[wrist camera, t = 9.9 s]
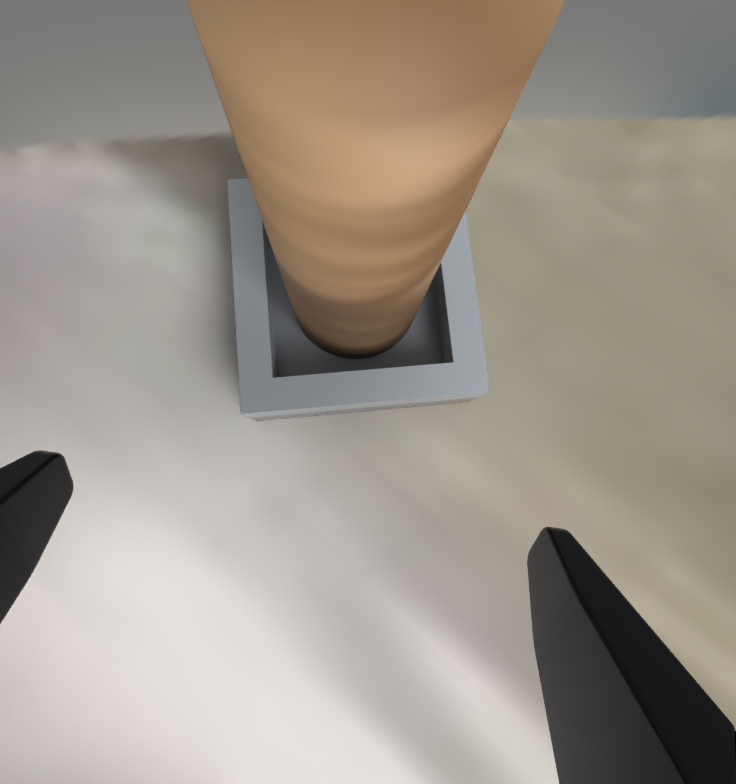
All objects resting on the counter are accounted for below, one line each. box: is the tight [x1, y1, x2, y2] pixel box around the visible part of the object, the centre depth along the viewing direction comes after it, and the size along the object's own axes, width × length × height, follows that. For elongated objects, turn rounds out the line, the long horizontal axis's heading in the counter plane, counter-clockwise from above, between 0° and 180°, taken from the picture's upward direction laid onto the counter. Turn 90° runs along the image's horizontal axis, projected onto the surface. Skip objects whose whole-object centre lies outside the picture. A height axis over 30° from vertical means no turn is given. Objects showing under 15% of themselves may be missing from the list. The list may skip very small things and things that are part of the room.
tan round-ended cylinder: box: [186, 0, 564, 359], centre depth 12 cm, size 5×5×13 cm
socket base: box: [227, 178, 490, 421], centre depth 19 cm, size 9×9×3 cm
